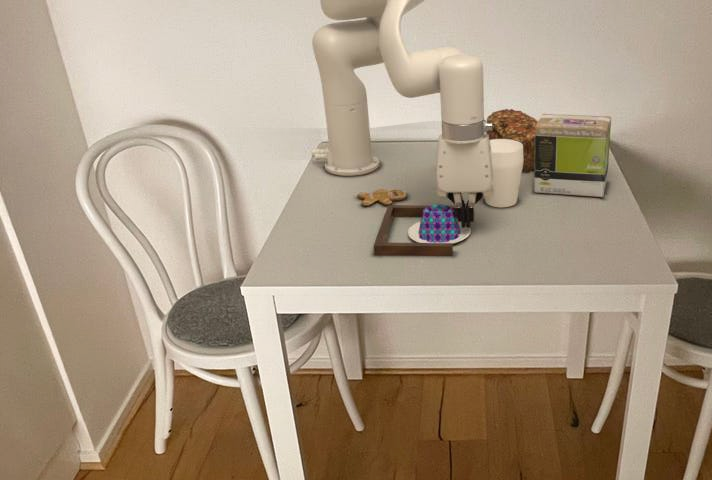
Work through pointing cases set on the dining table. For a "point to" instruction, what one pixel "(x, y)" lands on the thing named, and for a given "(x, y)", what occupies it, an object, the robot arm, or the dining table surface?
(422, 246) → the frame
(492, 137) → the bread
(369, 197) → the cookie
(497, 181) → the cup
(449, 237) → the pudding
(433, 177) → the dining table surface
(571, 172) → the tea box
